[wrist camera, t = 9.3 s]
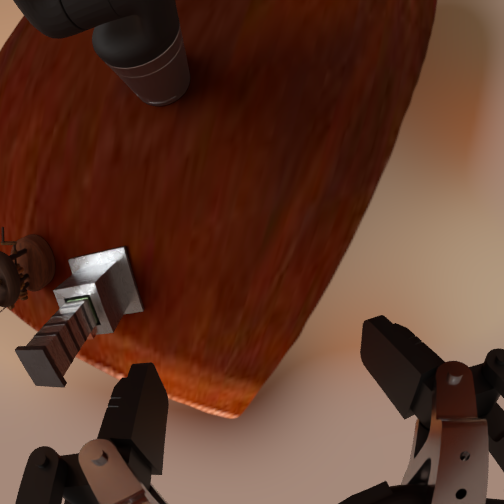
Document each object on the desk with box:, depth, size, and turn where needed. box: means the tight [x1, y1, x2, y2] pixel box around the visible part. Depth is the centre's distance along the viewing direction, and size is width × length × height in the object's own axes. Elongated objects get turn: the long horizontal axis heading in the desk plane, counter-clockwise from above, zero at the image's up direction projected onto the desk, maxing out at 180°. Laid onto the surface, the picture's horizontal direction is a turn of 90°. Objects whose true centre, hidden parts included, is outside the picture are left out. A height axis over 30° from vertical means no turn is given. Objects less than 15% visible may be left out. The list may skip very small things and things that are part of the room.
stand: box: [53, 246, 144, 339], centre depth 37 cm, size 12×12×12 cm
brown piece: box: [0, 227, 55, 312], centre depth 30 cm, size 15×11×20 cm
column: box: [15, 294, 99, 387], centre depth 28 cm, size 5×5×19 cm
